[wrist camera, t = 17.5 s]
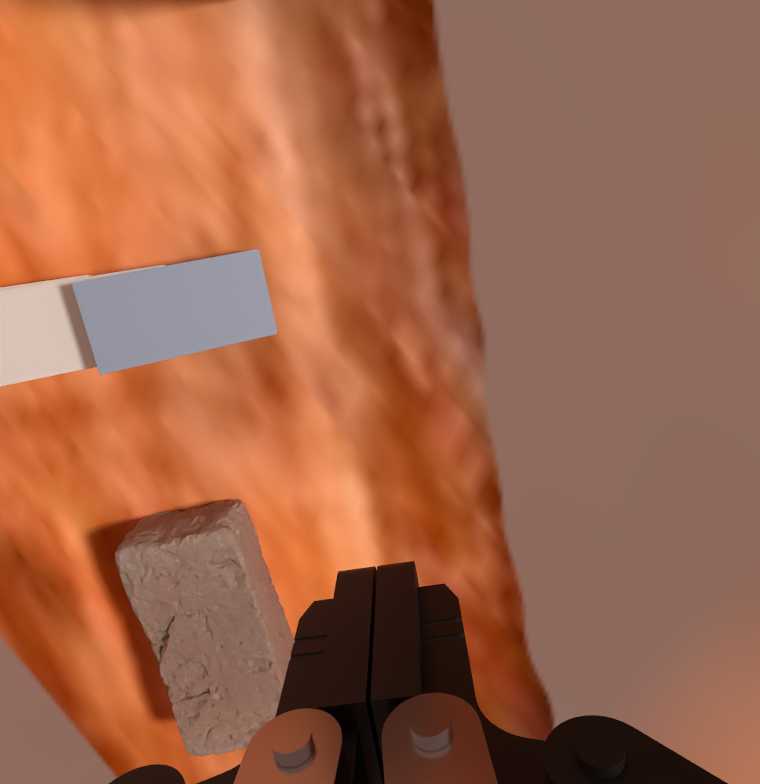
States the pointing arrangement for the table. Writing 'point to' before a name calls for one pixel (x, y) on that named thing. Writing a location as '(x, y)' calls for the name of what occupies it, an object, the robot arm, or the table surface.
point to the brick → (209, 621)
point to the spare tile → (175, 310)
